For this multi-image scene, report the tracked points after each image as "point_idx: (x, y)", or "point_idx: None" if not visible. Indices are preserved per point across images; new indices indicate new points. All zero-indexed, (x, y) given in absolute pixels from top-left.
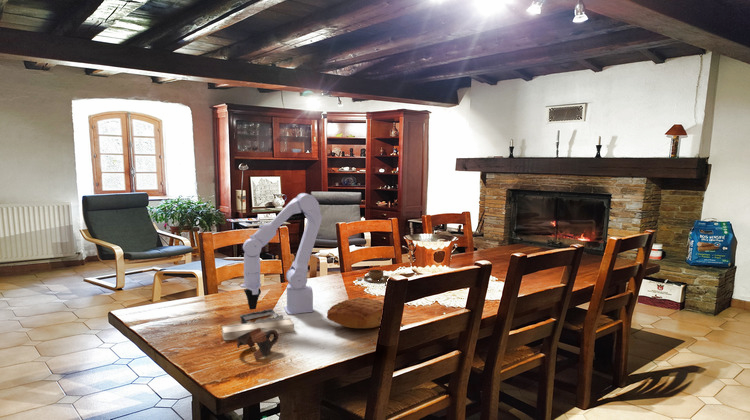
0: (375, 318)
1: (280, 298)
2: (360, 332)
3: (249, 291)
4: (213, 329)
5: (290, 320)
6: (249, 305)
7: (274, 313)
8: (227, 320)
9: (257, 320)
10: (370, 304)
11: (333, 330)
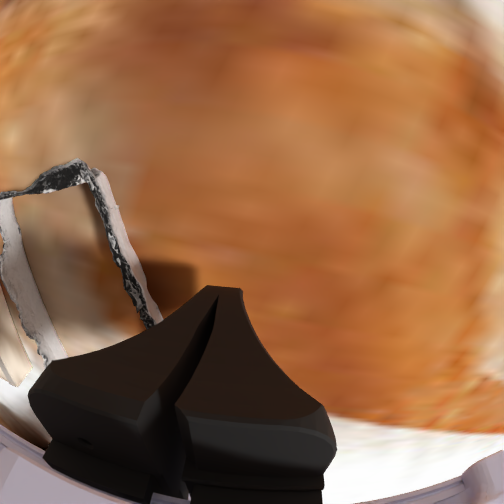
0: None
1: (427, 433)
2: (23, 436)
3: (68, 440)
4: (46, 7)
5: (1, 376)
6: (187, 303)
7: None
8: (160, 65)
9: (5, 267)
10: None
11: (21, 417)
